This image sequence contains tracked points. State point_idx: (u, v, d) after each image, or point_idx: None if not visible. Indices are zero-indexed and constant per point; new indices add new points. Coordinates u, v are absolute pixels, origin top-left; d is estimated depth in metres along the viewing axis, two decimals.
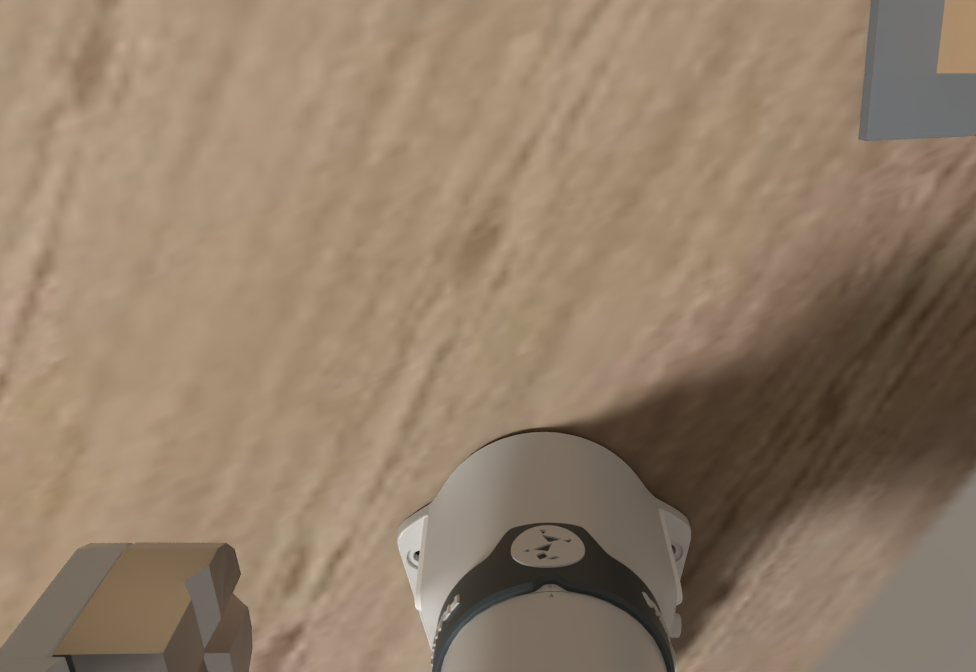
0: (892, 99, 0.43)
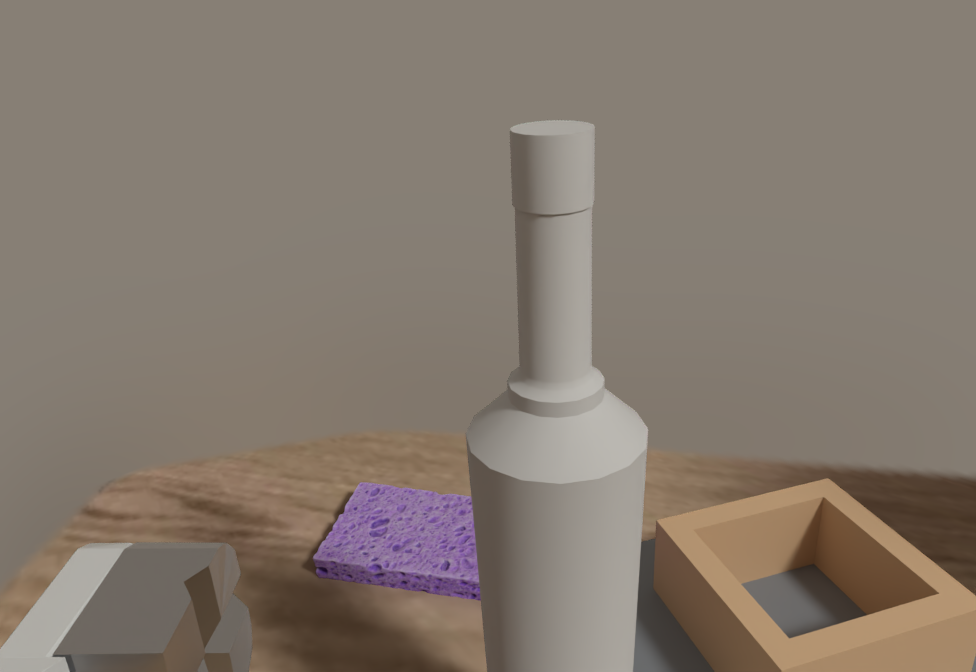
0: None
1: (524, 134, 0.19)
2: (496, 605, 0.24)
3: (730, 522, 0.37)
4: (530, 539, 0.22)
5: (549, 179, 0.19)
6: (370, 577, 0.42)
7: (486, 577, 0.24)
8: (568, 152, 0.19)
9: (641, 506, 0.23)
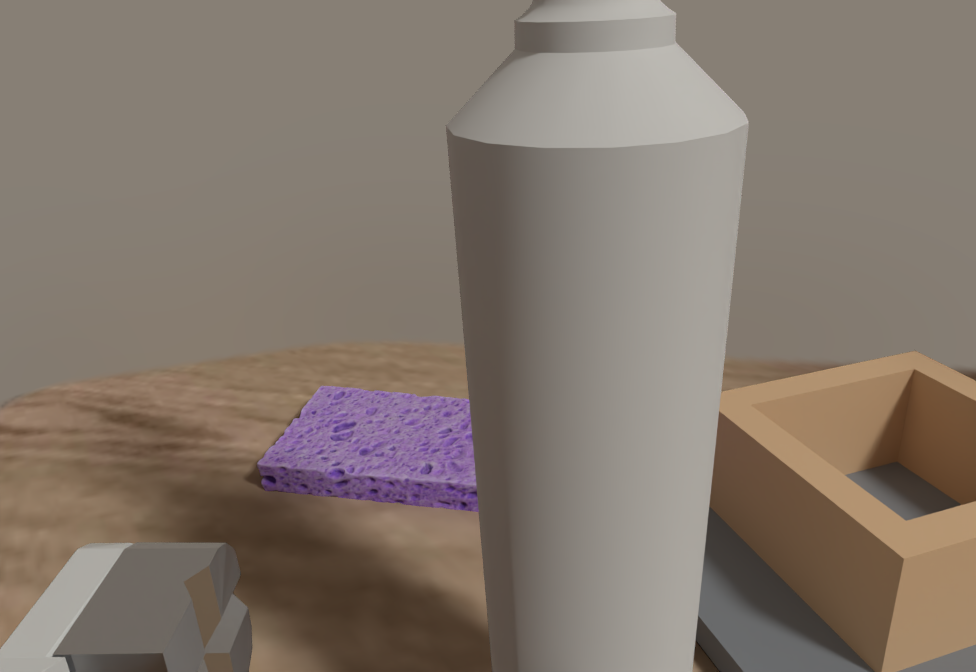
0: None
1: None
2: (496, 412, 0.15)
3: (797, 397, 0.28)
4: (556, 269, 0.13)
5: None
6: (330, 486, 0.33)
7: (480, 368, 0.15)
8: None
9: (735, 235, 0.14)
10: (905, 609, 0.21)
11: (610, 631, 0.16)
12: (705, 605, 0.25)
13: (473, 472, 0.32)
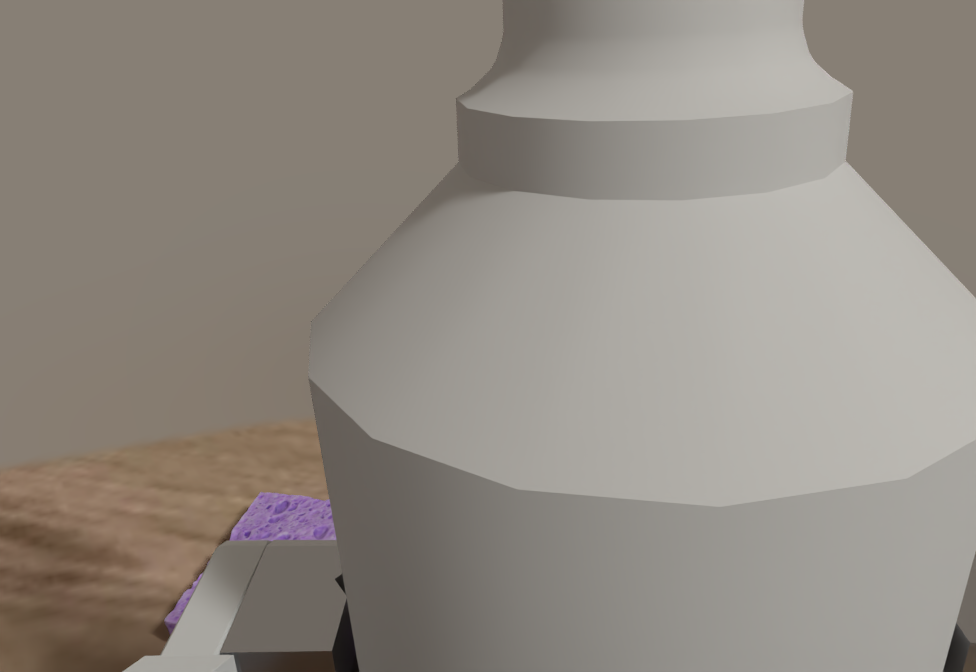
0: None
1: None
2: None
3: None
4: None
5: None
6: None
7: None
8: None
9: None
10: None
11: None
12: None
13: None
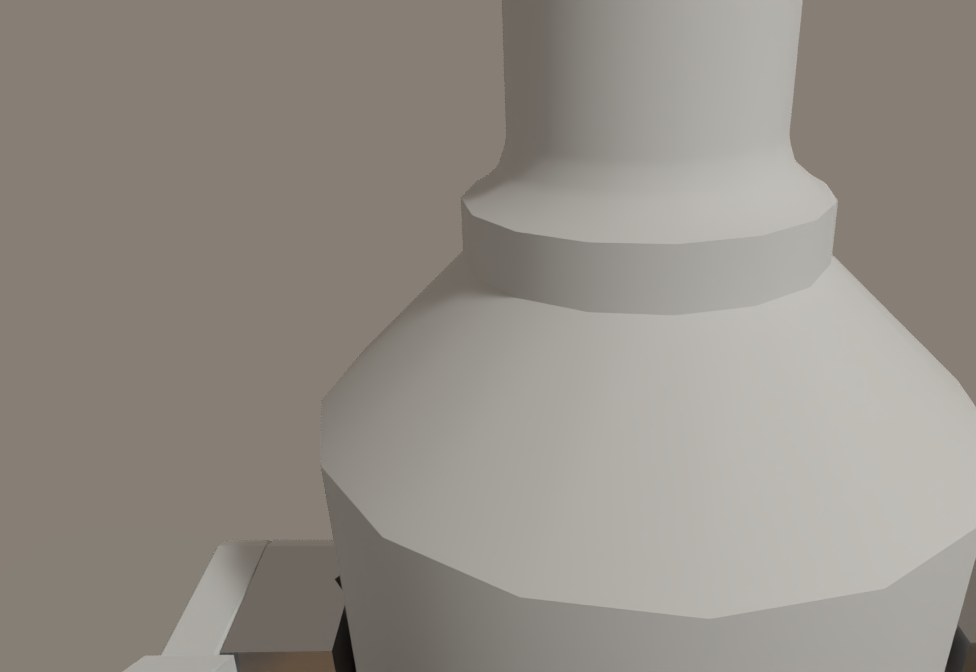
0: None
1: None
2: None
3: None
4: None
5: None
6: None
7: None
8: None
9: None
10: None
11: None
12: None
13: None
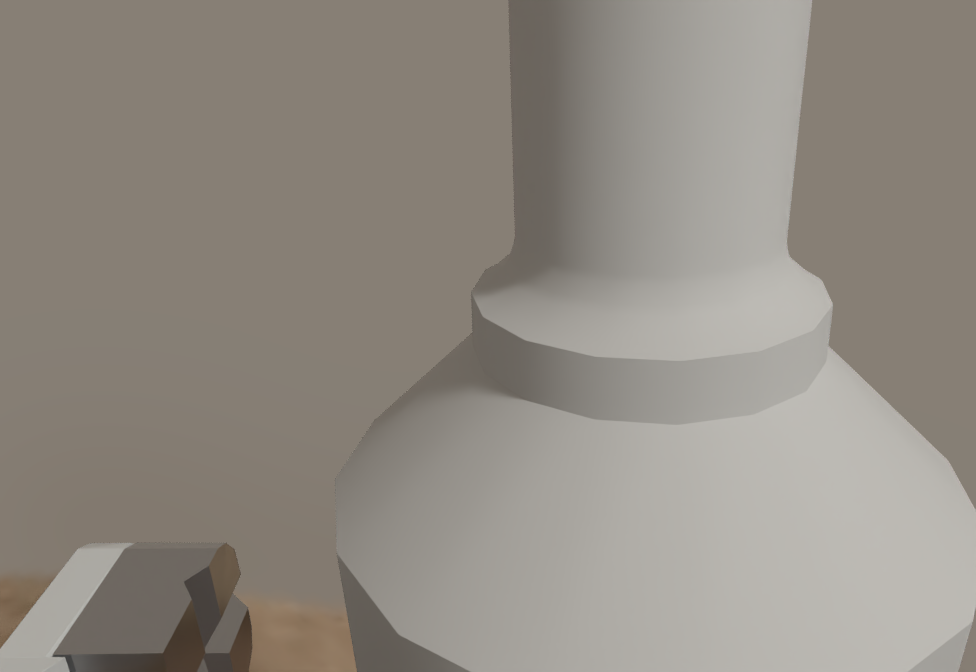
0: None
1: None
2: None
3: None
4: None
5: None
6: None
7: None
8: None
9: None
10: None
11: None
12: None
13: None
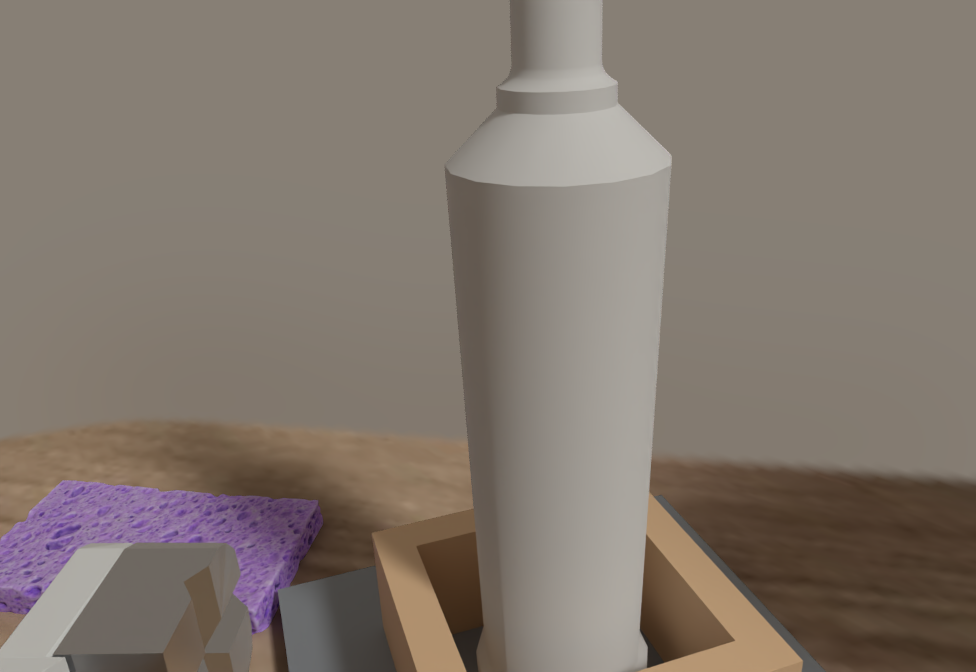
0: None
1: None
2: (483, 384, 0.19)
3: (474, 534, 0.26)
4: (526, 274, 0.17)
5: None
6: (29, 604, 0.31)
7: (471, 351, 0.19)
8: None
9: (664, 248, 0.18)
10: None
11: (573, 556, 0.20)
12: None
13: None
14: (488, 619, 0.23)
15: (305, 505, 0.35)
